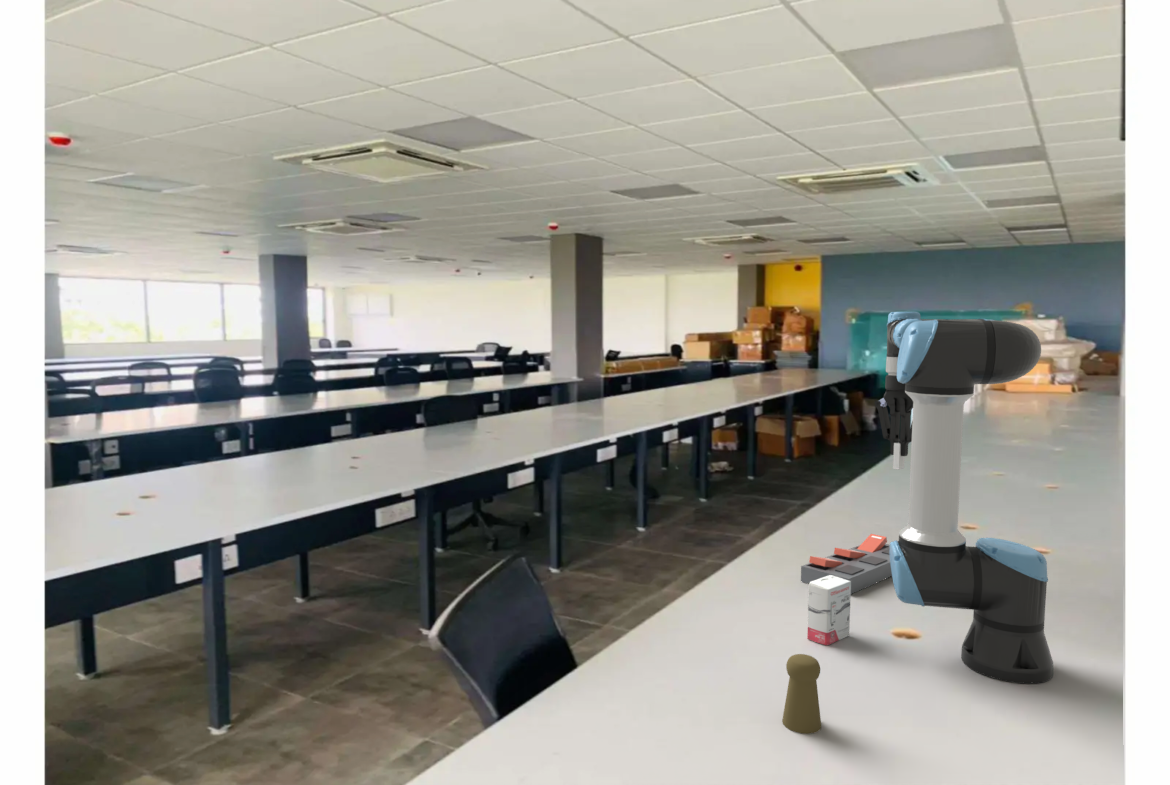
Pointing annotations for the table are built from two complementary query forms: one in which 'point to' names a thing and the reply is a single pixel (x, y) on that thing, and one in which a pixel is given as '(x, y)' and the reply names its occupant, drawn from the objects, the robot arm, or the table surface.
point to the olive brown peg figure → (802, 695)
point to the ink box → (828, 609)
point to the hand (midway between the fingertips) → (898, 468)
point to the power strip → (853, 568)
